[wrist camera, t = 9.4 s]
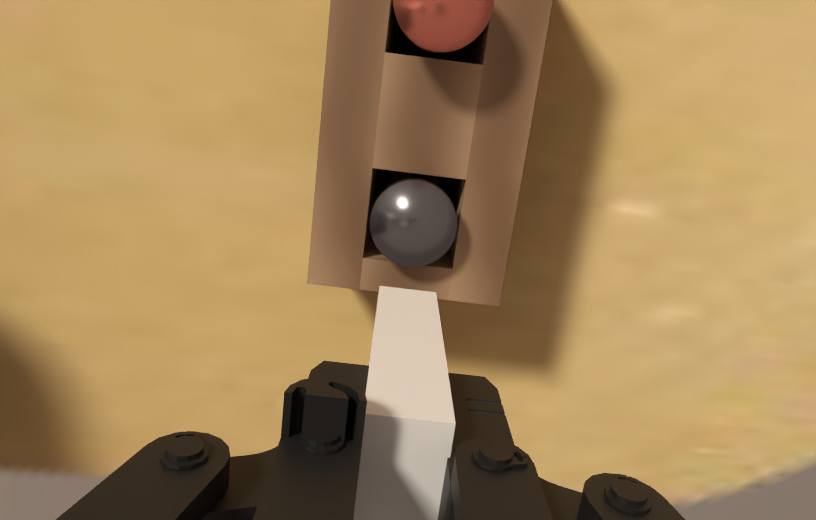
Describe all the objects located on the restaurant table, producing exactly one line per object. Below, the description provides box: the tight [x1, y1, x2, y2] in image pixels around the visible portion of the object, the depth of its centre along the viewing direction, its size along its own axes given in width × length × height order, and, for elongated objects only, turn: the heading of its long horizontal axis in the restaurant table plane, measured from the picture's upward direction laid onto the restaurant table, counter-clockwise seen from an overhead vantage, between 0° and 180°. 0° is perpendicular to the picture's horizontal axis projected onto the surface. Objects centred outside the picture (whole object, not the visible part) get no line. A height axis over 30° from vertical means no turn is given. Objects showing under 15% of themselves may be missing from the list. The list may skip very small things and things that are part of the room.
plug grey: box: [370, 171, 457, 267], centre depth 33 cm, size 4×4×8 cm
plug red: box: [393, 0, 494, 53], centre depth 29 cm, size 4×4×8 cm
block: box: [307, 0, 553, 306], centre depth 33 cm, size 10×18×7 cm, turn 173°
